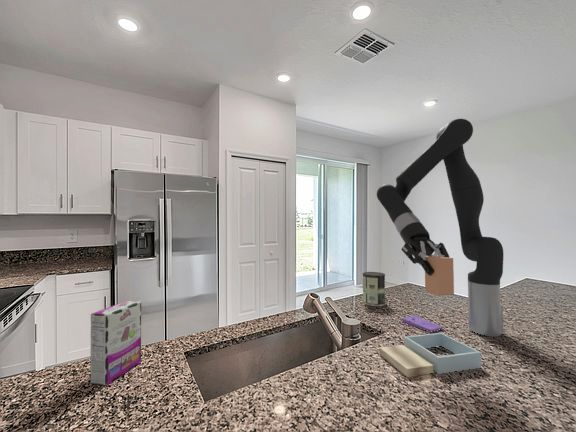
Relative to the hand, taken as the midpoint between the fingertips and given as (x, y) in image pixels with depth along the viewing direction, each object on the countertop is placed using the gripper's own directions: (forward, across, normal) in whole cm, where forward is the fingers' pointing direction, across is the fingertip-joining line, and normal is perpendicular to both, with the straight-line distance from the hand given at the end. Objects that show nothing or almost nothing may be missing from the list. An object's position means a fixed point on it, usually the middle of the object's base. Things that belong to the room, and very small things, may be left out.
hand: (440, 273), depth 76 cm
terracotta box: (+4, 0, +4) cm, 6 cm away
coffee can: (-20, +11, +55) cm, 59 cm away
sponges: (+1, +13, +34) cm, 36 cm away
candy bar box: (+8, -85, +26) cm, 89 cm away
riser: (+16, -12, +17) cm, 26 cm away
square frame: (+16, 0, +17) cm, 24 cm away
